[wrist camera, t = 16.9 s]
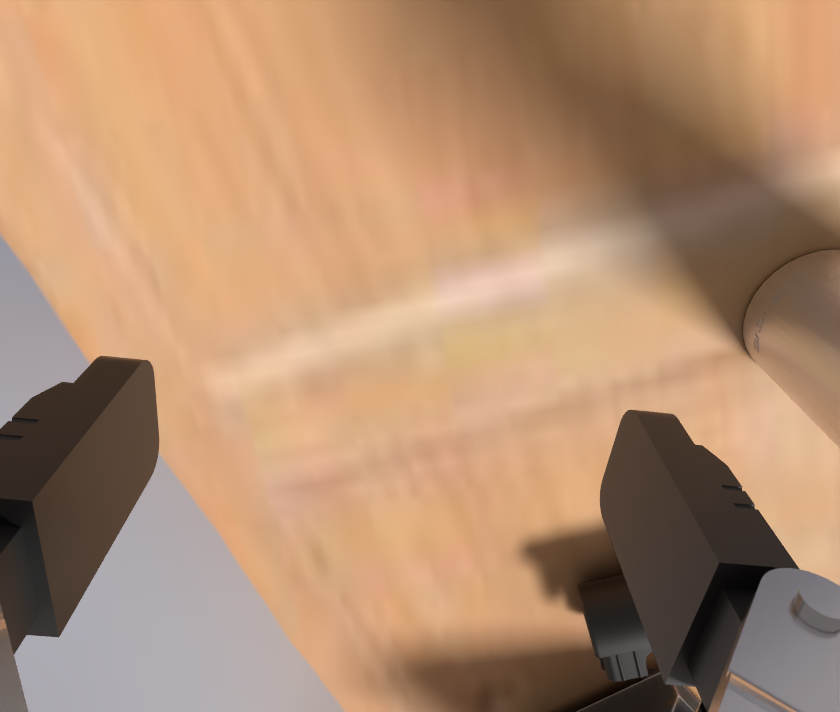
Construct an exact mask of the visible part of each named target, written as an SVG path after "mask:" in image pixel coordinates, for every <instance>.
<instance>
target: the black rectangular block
mask: <svg viewBox="0 0 840 712" xmlns="http://www.w3.org/2000/svg"><path fill="white" fill-rule="evenodd" d="M577 592H578V595H579V599H580V603H581V606H582V610H583V613H584V617H585V620H586V624H587V627H588V631H589V634H590V638H591V641H592V645H593V649H594V652H595V655H596V657H597V658H599V659H600V663H601V667H602V669H604V670H606V673H607V676H608V678H609V679H610V680H611V681H614V682H618V681H626V680H628V679H633V678H638V677H639V678H641V677H643V676H648V672H647V667H646V658H647V656H648V655H649V654H650V653H651V652H652V649H651V646H650V644H649V641H648V638H647V636H646V633H645V630H644V628H643V625H642V622H641V620H640V617H639V614H638V612H637V609H636V606H635V604H634V601H633V598H632V596H631V593H630V590H629V588H628V585H627V582H626V580H625V577H624V574H621V575H617V576H612V577H608V578H603V579H598V580H594V581H589V582H585V583H582V584H579V585H578V586H577Z"/></svg>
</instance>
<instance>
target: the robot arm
mask: <svg viewBox="0 0 840 712" xmlns="http://www.w3.org/2000/svg"><path fill="white" fill-rule="evenodd" d="M743 337H744V341H745V346H746V348H747V350H748V352H749V354H750V356H751V358H752V359H753V360H754V361H755V362H756V363H757V364H758V365H759V366H760V367H761V368H762V369H763V370H764V371H765V372H766V373H767V374H768V375H769V376H770V377H771V378H772V379H773V380H774V381H775V382H776V383H777V384H778V385H779V387H780V388H781V389H782V390H783V391H784V392H785V393H786V394H787V395H788V396H789V397H790V398H791V399H792V400H793V401H794V402H795V403H796V404H797V405H798V406H799V407H800V408H801V409H802V410H803V411H804V412H805V413H806V414H807V415H808V416H809V417H810V418H811V419H812V420H813V421H814V422H815V423H816V424H817V426H818V427H819V428H820V429H821V430H822V431H823V432H824V433H825V434H826V435H827V436H828V437H829V438H830V439H831V440H832V441H833V442H834V443H835V444H836V445H837V446H838V447H839V448H840V250H823V251H818V252H814V253H810V254H807V255H804V256H801V257H799V258H797V259H795V260H793V261H791V262H789V263H787V264H786V265H784V266H783V267H781V268H780V269H778V270H777V271H775V272H774V273H773V274H772V275H771V276H770V277H769V278H768V279H767V280H766V281H765V282H764V283H763V284H762V285H761V287H760V288H759V289H758V291H757V292H756V293H755V295H754V296H753V298H752V300H751V302H750V304H749V306H748V308H747V311H746V315H745V319H744V323H743ZM158 451H159V430H158V417H157V405H156V392H155V379H154V371H153V367H152V365H151V363H150V362H149V361H147V360H139V359H129V358H119V357H109V356H100V357H98V358H97V359H95V360H94V362H93V363H92V364H91V365H90V366H89V367H88V368H87V369H86V370H85V371H84V372H83V373H82V374H81V375H80V377H79V378H78V379H77V380H76V381H75V382H74V383H67V382H61V383H59V384H57V385H56V386H54V387H52V388H50V389H48V390H46V391H44V392H42V393H40V394H38V395H36V396H34V397H32V398H31V399H30V400H29V401H28V402H27V403H26V404H25V405H24V406H23V407H22V408H21V409H20V410H19V411H18V412H17V413H16V414H15V415H14V416H13V417H12V421H8V422H7V423H6V424H5V425H4V426H3V427H2V428H1V429H0V712H28V709H27V705H26V701H25V697H24V693H23V690H22V685H21V681H20V678H19V673H18V669H17V666H16V662H15V658H14V654H15V652H16V650H17V649H18V647H19V646H20V644H21V643H22V641H23V639H24V638H25V636H26V635H36V636H51V637H59V636H60V635H61V633H62V631H63V629H64V628H65V626H66V624H67V622H68V621H69V619H70V617H71V615H72V614H73V612H74V610H75V609H76V607H77V605H78V603H79V602H80V600H81V598H82V596H83V595H84V593H85V591H86V589H87V587H88V586H89V584H90V582H91V580H92V579H93V577H94V575H95V574H96V572H97V570H98V568H99V567H100V565H101V563H102V562H103V560H104V558H105V556H106V554H107V553H108V551H109V549H110V547H111V546H112V544H113V542H114V541H115V539H116V537H117V535H118V534H119V532H120V530H121V528H122V527H123V525H124V523H125V521H126V520H127V518H128V516H129V514H130V513H131V511H132V509H133V507H134V506H135V504H136V502H137V500H138V499H139V497H140V495H141V493H142V492H143V490H144V488H145V487H146V485H147V483H148V481H149V480H150V478H151V476H152V474H153V471H154V469H155V466H156V462H157V457H158ZM754 506H755V505H754V503H753V502H752V500H751V499H750V497H749V496H748V495H747V493H746V492H745V491H742V486H741V485H740V483H739V482H738V480H737V479H736V477H735V476H734V475H733V473H732V472H731V470H730V469H729V467H728V466H727V465H726V464H725V463H724V462H722V461H721V460H720V459H719V458H717V457H716V456H715V455H714V454H712V453H711V452H710V451H709V450H707V449H706V448H705V447H704V446H702V445H695V444H694V443H693V441H692V440H691V438H690V437H689V435H688V434H687V432H686V431H685V429H684V427H683V426H682V424H681V423H680V421H679V420H678V418H677V417H676V416H675V415H673V414H668V413H658V412H648V411H638V410H628V411H627V412H626V413H625V414H624V415H623V417H622V419H621V422H620V425H619V428H618V432H617V435H616V438H615V441H614V445H613V448H612V451H611V454H610V457H609V461H608V464H607V467H606V470H605V473H604V477H603V480H602V484H601V490H600V508H601V514H602V518H603V521H604V523H605V526H606V529H607V531H608V534H609V537H610V539H611V542H612V545H613V547H614V550H615V553H616V555H617V558H618V561H619V563H620V566H621V569H622V572H623V574H624V577H625V580H626V582H627V585H628V588H629V590H630V593H631V596H632V598H633V601H634V604H635V606H636V609H637V612H638V614H639V617H640V620H641V622H642V625H643V628H644V630H645V633H646V636H647V638H648V641H649V644H650V646H651V649H652V652H653V654H654V657H655V660H656V662H657V665H658V668H659V670H660V673H661V676H662V678H663V681H664V684H666V685H680V686H693V687H696V688H697V690H698V692H699V695H700V697H701V702H700V704H699V706H698V708H697V710H696V712H840V586H839V585H837V584H836V583H834V582H832V581H830V580H828V579H826V578H824V577H821V576H819V575H817V574H814V573H811V572H808V571H804V570H800V569H799V568H798V566H797V565H796V564H795V562H794V561H793V559H792V558H791V556H790V555H789V553H788V552H787V551H786V549H785V548H784V546H783V545H782V543H781V542H780V541H779V539H778V538H777V536H776V535H775V533H774V532H773V531H772V529H771V528H770V526H769V525H768V523H767V522H766V520H765V519H764V518H763V516H762V515H761V513H760V512H759V510H755V508H754Z"/></svg>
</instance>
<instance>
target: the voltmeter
mask: <svg viewBox="0 0 840 712" xmlns="http://www.w3.org/2000/svg"><path fill="white" fill-rule="evenodd" d="M699 704H700V702H699V701H698V700H697V699H696V698H695V697H694V696H693V695H692V693H691V692H690V691H689V690H688V689H687V688H686V687H685V686H680V685H666V684H664V681H663V678H662V676H661V673H660V670H654V669H653V670H650V671H648V676H643V680H642V681H640V682H638V683H636V684H634V685H632V686H630V687H628V688H625V689H623V690H621V691H619V692H617V693H615V694H613V695H610V696H608V697H606V698H604V699H602V700H600V701H598V702H596V703H593V704H591V705H589V706H587V707H585V708H583V709H581V710H578V711H576V712H696V710H697V708H698V706H699Z"/></svg>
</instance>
